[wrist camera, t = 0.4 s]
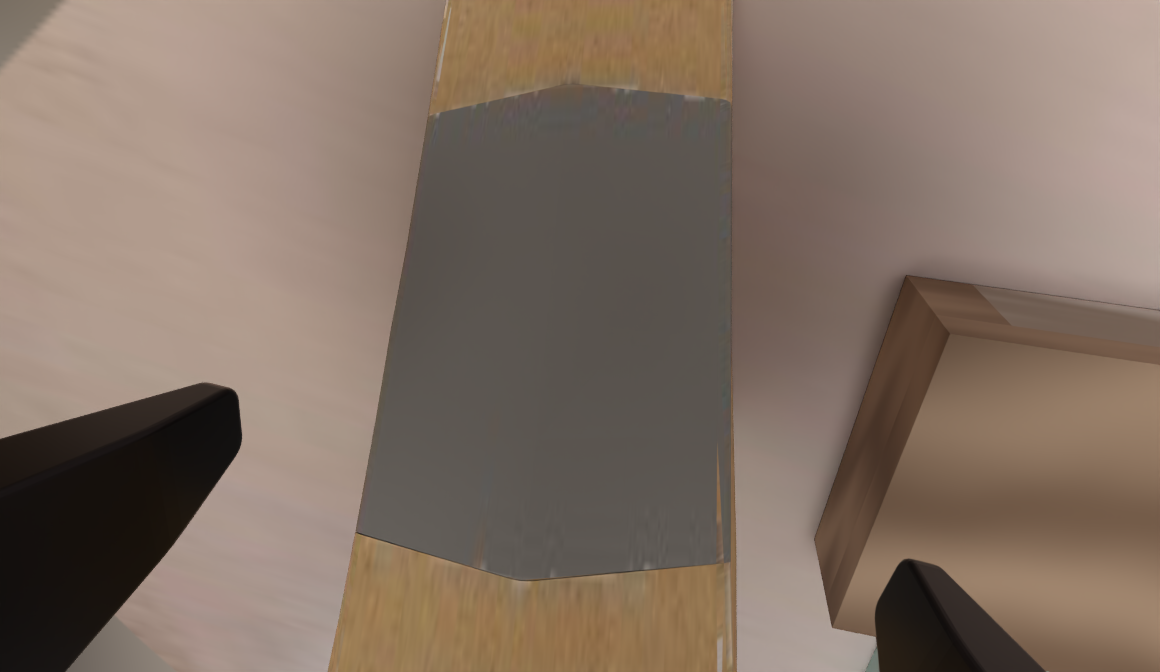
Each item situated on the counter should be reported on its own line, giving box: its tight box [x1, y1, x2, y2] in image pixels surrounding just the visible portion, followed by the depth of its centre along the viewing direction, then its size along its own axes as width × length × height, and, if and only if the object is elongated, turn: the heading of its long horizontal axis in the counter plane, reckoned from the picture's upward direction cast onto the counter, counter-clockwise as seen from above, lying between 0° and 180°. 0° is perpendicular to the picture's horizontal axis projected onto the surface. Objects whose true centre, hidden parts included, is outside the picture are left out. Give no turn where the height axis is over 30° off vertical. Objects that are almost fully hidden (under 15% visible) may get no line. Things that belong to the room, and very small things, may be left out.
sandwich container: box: [328, 0, 737, 672], centre depth 15 cm, size 9×15×15 cm, turn 4°
